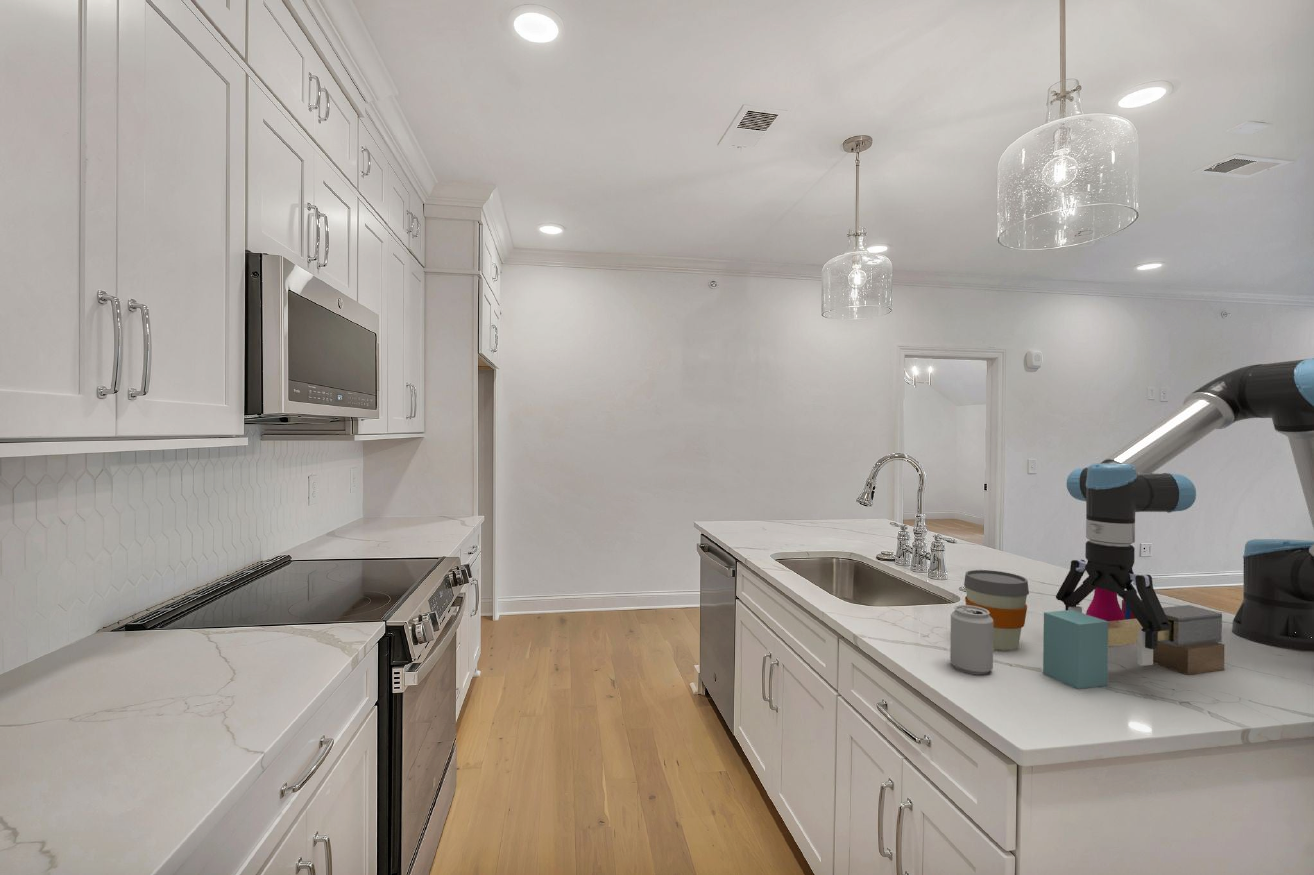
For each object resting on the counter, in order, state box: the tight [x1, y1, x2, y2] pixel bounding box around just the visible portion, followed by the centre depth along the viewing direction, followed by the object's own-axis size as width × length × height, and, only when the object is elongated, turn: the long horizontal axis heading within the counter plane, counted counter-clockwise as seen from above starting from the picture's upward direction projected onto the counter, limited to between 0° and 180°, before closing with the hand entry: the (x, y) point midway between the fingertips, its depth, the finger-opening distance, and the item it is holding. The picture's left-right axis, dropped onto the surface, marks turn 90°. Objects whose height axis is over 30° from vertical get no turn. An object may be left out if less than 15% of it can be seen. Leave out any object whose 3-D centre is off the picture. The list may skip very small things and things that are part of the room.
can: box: [949, 604, 994, 675], centre depth 114 cm, size 8×8×12 cm
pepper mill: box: [1085, 588, 1125, 621], centre depth 131 cm, size 7×7×20 cm
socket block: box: [1042, 610, 1109, 690], centre depth 109 cm, size 7×7×12 cm
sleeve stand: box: [1153, 604, 1225, 676], centre depth 116 cm, size 12×8×11 cm, turn 105°
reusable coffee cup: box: [963, 569, 1030, 651], centre depth 128 cm, size 13×12×15 cm
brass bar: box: [1108, 619, 1174, 648], centre depth 113 cm, size 28×3×3 cm, turn 105°
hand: (1107, 650), depth 111 cm, fingers open, 13 cm apart
